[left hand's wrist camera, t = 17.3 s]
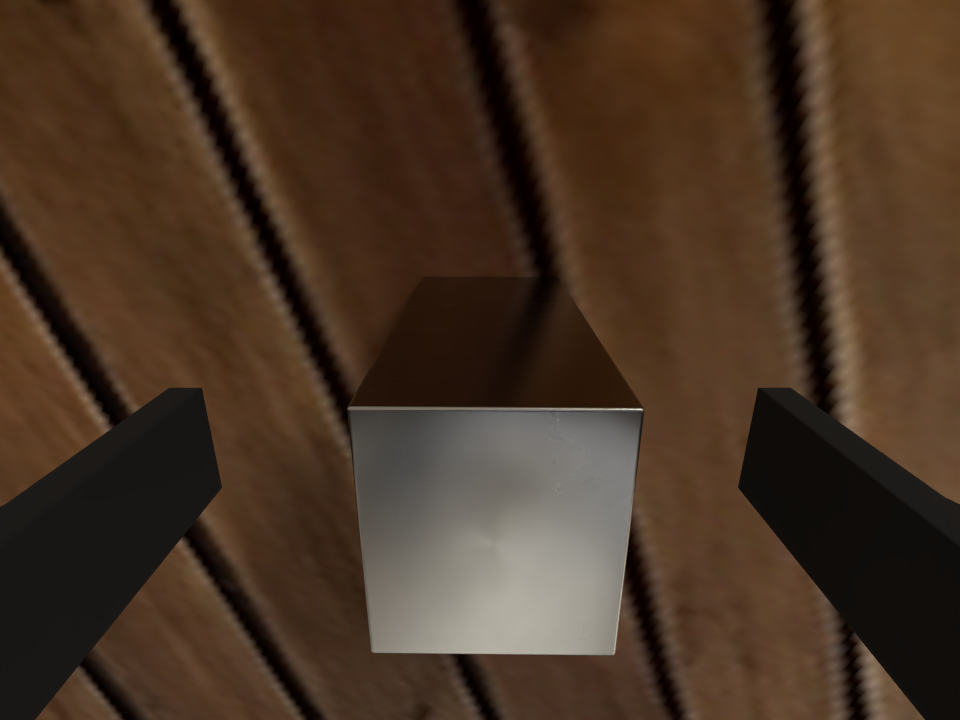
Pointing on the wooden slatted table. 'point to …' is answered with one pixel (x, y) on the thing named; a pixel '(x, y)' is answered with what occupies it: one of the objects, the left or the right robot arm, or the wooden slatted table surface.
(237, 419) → the wooden slatted table surface
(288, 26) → the wooden slatted table surface
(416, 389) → the block
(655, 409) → the wooden slatted table surface
